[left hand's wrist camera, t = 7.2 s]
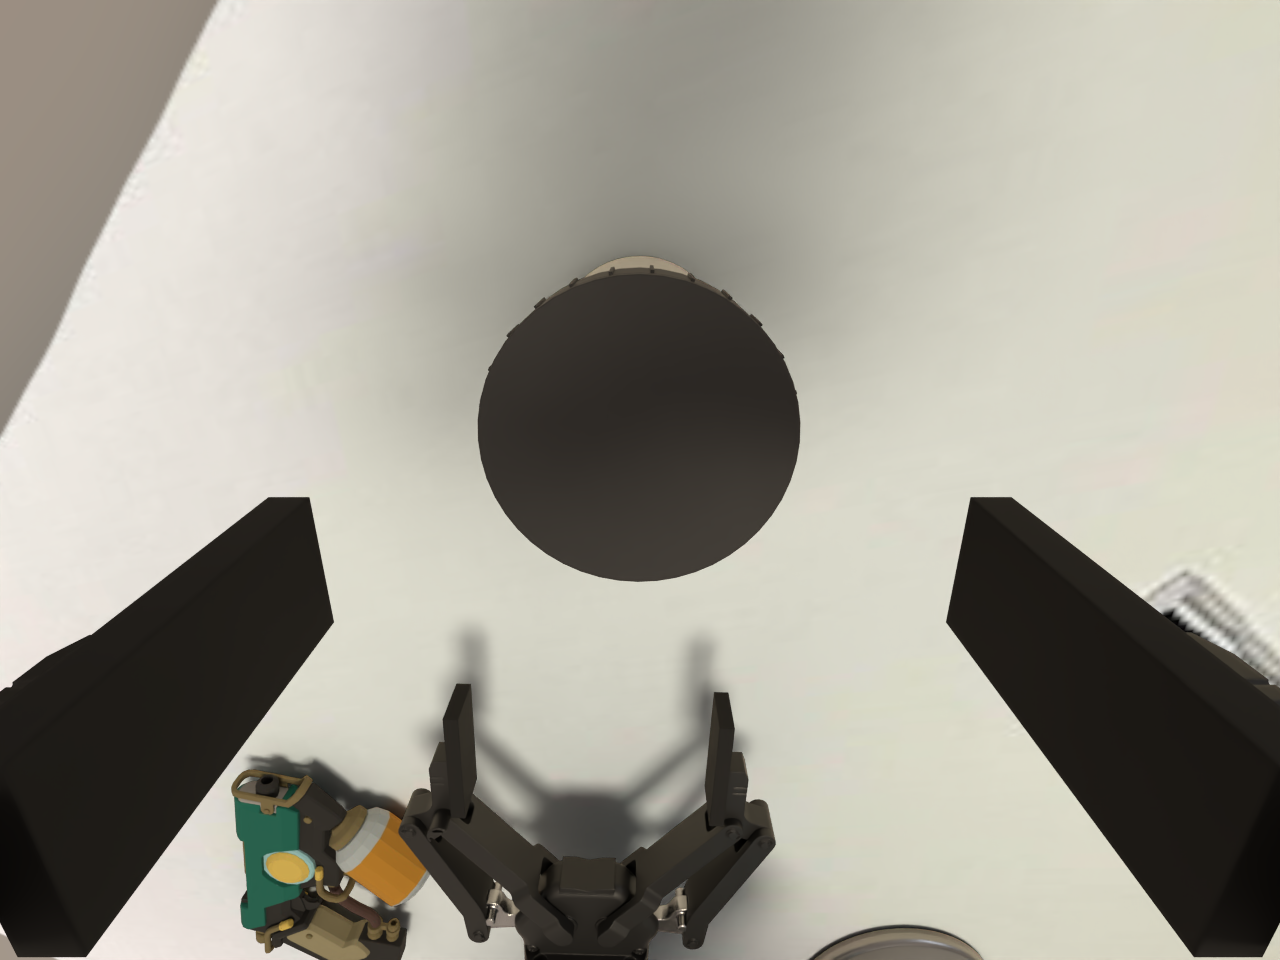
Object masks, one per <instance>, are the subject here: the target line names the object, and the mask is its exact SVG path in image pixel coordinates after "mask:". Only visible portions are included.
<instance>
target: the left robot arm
mask: <svg viewBox="0 0 1280 960" xmlns="http://www.w3.org/2000/svg"><path fill="white" fill-rule="evenodd" d="M333 623H334V620H333V615H332V610H331V605H330V600H329V595H328V590H327V585H326V579H325V574H324V569H323V564H322V559H321V554H320V549H319V544H318V539H317V534H316V529H315V524H314V518H313V513H312V508H311V503H310V498H309V497H268V498H267V499H266V500H264V501H263V502H262V503H261V504H259V505H258V506H257V507H255V508H254V509H253V510H252V511H250V512H249V513H248V514H246V515H245V516H244V517H243V518H241V519H240V520H239V521H237V522H236V523H235V524H234V525H232V526H231V527H230V528H228V529H227V530H226V531H225V532H223V533H222V534H221V535H219V536H218V537H217V538H216V539H214V540H213V541H212V542H210V543H209V544H208V545H207V546H205V547H204V548H203V549H201V550H200V551H199V552H198V553H196V554H195V555H194V556H192V557H191V558H190V559H189V560H187V561H186V562H185V563H183V564H182V565H181V566H180V567H178V568H177V569H176V570H174V571H173V572H172V573H171V574H169V575H168V576H167V577H165V578H164V579H163V580H162V581H160V582H159V583H158V584H156V585H155V586H154V587H153V588H151V589H150V590H149V591H147V592H146V593H145V594H143V595H142V596H141V597H140V598H138V599H137V600H136V601H134V602H133V603H132V604H131V605H129V606H128V607H127V608H125V609H124V610H123V611H122V612H120V613H119V614H118V615H116V616H115V617H114V618H113V619H111V620H110V621H109V622H107V623H106V624H105V625H104V626H102V627H101V628H100V629H98V630H97V631H96V632H95V633H93V634H92V635H88V636H86V637H84V638H82V639H80V640H79V641H77V642H75V643H73V644H71V645H69V646H67V647H65V648H63V649H61V650H59V651H57V652H55V653H53V654H51V655H49V656H47V657H45V658H44V659H43V660H41V661H40V662H39V663H37V664H36V665H35V666H34V667H32V668H31V669H30V670H28V671H27V672H26V673H24V674H23V675H22V676H20V677H19V678H18V679H16V680H15V681H14V682H13V685H12V687H6V688H4V689H3V690H2V691H0V923H1V925H2V927H3V929H4V931H5V933H6V935H7V937H8V939H9V941H10V943H11V945H12V947H13V949H14V951H15V953H16V955H17V957H86V956H87V955H88V954H89V952H90V951H91V950H92V948H93V947H94V946H95V944H96V943H97V942H98V940H99V939H100V938H101V936H102V935H103V933H104V932H105V931H106V929H107V928H108V927H109V925H110V924H111V923H112V921H113V920H114V919H115V917H116V916H117V915H118V913H119V912H120V911H121V909H122V908H123V906H124V905H125V904H126V902H127V901H128V900H129V898H130V897H131V896H132V894H133V893H134V892H135V890H136V889H137V888H138V886H139V885H140V884H141V882H142V881H143V879H144V878H145V877H146V875H147V874H148V873H149V871H150V870H151V869H152V867H153V866H154V865H155V863H156V862H157V861H158V859H159V858H160V856H161V855H162V854H163V852H164V851H165V850H166V848H167V847H168V846H169V844H170V843H171V842H172V840H173V839H174V838H175V836H176V835H177V834H178V832H179V831H180V829H181V828H182V827H183V825H184V824H185V823H186V821H187V820H188V819H189V817H190V816H191V815H192V813H193V812H194V811H195V809H196V808H197V806H198V805H199V804H200V802H201V801H202V800H203V798H204V797H205V796H206V794H207V793H208V792H209V790H210V789H211V788H212V786H213V785H214V784H215V782H216V781H217V779H218V778H219V777H220V775H221V774H222V773H223V771H224V770H225V769H226V767H227V766H228V765H229V763H230V762H231V761H232V759H233V758H234V757H235V755H236V754H237V752H238V751H239V750H240V748H241V747H242V746H243V744H244V743H245V742H246V740H247V739H248V738H249V736H250V735H251V734H252V732H253V731H254V729H255V728H256V727H257V725H258V724H259V723H260V721H261V720H262V719H263V717H264V716H265V715H266V713H267V712H268V711H269V709H270V708H271V707H272V705H273V704H274V702H275V701H276V700H277V698H278V697H279V696H280V694H281V693H282V692H283V690H284V689H285V688H286V686H287V685H288V684H289V682H290V681H291V679H292V678H293V677H294V675H295V674H296V673H297V671H298V670H299V669H300V667H301V666H302V665H303V663H304V662H305V661H306V659H307V658H308V657H309V655H310V654H311V652H312V651H313V650H314V648H315V647H316V646H317V644H318V643H319V642H320V640H321V639H322V638H323V636H324V635H325V634H326V632H327V631H328V630H329V628H330V627H331V625H332V624H333ZM946 623H947V624H948V625H949V627H950V628H951V630H952V631H953V632H954V634H955V635H956V636H957V638H958V639H959V640H960V642H961V643H962V644H963V646H964V647H965V648H966V650H967V651H968V652H969V654H970V655H971V657H972V658H973V659H974V661H975V662H976V663H977V665H978V666H979V667H980V669H981V670H982V671H983V673H984V674H985V675H986V677H987V678H988V680H989V681H990V682H991V684H992V685H993V686H994V688H995V689H996V690H997V692H998V693H999V694H1000V696H1001V697H1002V698H1003V700H1004V701H1005V702H1006V704H1007V705H1008V707H1009V708H1010V709H1011V711H1012V712H1013V713H1014V715H1015V716H1016V717H1017V719H1018V720H1019V721H1020V723H1021V724H1022V725H1023V727H1024V728H1025V729H1026V731H1027V732H1028V734H1029V735H1030V736H1031V738H1032V739H1033V740H1034V742H1035V743H1036V744H1037V746H1038V747H1039V748H1040V750H1041V751H1042V752H1043V754H1044V755H1045V757H1046V758H1047V759H1048V761H1049V762H1050V763H1051V765H1052V766H1053V767H1054V769H1055V770H1056V771H1057V773H1058V774H1059V775H1060V777H1061V778H1062V779H1063V781H1064V782H1065V784H1066V785H1067V786H1068V788H1069V789H1070V790H1071V792H1072V793H1073V794H1074V796H1075V797H1076V798H1077V800H1078V801H1079V802H1080V804H1081V805H1082V806H1083V808H1084V809H1085V811H1086V812H1087V813H1088V815H1089V816H1090V817H1091V819H1092V820H1093V821H1094V823H1095V824H1096V825H1097V827H1098V828H1099V829H1100V831H1101V832H1102V834H1103V835H1104V836H1105V838H1106V839H1107V840H1108V842H1109V843H1110V844H1111V846H1112V847H1113V848H1114V850H1115V851H1116V852H1117V854H1118V855H1119V856H1120V858H1121V859H1122V861H1123V862H1124V863H1125V865H1126V866H1127V867H1128V869H1129V870H1130V871H1131V873H1132V874H1133V875H1134V877H1135V878H1136V879H1137V881H1138V882H1139V884H1140V885H1141V886H1142V888H1143V889H1144V890H1145V892H1146V893H1147V894H1148V896H1149V897H1150V898H1151V900H1152V901H1153V902H1154V904H1155V905H1156V906H1157V908H1158V909H1159V911H1160V912H1161V913H1162V915H1163V916H1164V917H1165V919H1166V920H1167V921H1168V923H1169V924H1170V925H1171V927H1172V928H1173V929H1174V931H1175V932H1176V933H1177V935H1178V936H1179V938H1180V939H1181V940H1182V942H1183V943H1184V944H1185V946H1186V947H1187V948H1188V950H1189V951H1190V952H1191V954H1192V955H1193V956H1194V957H1263V955H1264V953H1265V951H1266V949H1267V947H1268V945H1269V943H1270V941H1271V939H1272V937H1273V935H1274V933H1275V931H1276V929H1277V927H1278V925H1279V923H1280V688H1279V687H1278V686H1276V685H1270V684H1269V682H1268V679H1267V678H1266V677H1264V676H1263V675H1262V674H1260V673H1259V672H1258V671H1256V670H1255V669H1254V668H1252V667H1251V666H1250V665H1248V664H1247V663H1246V662H1244V661H1243V660H1242V659H1240V658H1239V657H1238V656H1236V655H1235V654H1233V653H1231V652H1229V651H1227V650H1225V649H1223V648H1221V647H1219V646H1217V645H1215V644H1213V643H1211V642H1209V641H1207V640H1205V639H1203V638H1201V637H1199V636H1197V635H1195V634H1193V633H1185V632H1184V631H1183V630H1182V629H1180V628H1179V627H1178V626H1176V625H1175V624H1174V623H1173V622H1171V621H1170V620H1169V619H1167V618H1166V617H1165V616H1164V615H1162V614H1161V613H1160V612H1158V611H1157V610H1156V609H1155V608H1153V607H1152V606H1151V605H1149V604H1148V603H1147V602H1146V601H1144V600H1143V599H1142V598H1140V597H1139V596H1138V595H1136V594H1135V593H1134V592H1133V591H1131V590H1130V589H1129V588H1127V587H1126V586H1125V585H1124V584H1122V583H1121V582H1120V581H1118V580H1117V579H1116V578H1115V577H1113V576H1112V575H1111V574H1109V573H1108V572H1107V571H1106V570H1104V569H1103V568H1102V567H1100V566H1099V565H1098V564H1097V563H1095V562H1094V561H1093V560H1091V559H1090V558H1089V557H1088V556H1086V555H1085V554H1084V553H1082V552H1081V551H1080V550H1079V549H1077V548H1076V547H1075V546H1073V545H1072V544H1071V543H1070V542H1068V541H1067V540H1066V539H1064V538H1063V537H1062V536H1061V535H1059V534H1058V533H1057V532H1055V531H1054V530H1053V529H1052V528H1050V527H1049V526H1048V525H1046V524H1045V523H1044V522H1043V521H1041V520H1040V519H1039V518H1037V517H1036V516H1035V515H1034V514H1032V513H1031V512H1030V511H1028V510H1027V509H1026V508H1025V507H1023V506H1022V505H1021V504H1019V503H1018V502H1017V501H1016V500H1014V499H1013V498H1012V497H971V498H970V503H969V508H968V513H967V518H966V523H965V529H964V534H963V539H962V544H961V549H960V554H959V559H958V564H957V569H956V574H955V579H954V584H953V590H952V595H951V600H950V605H949V610H948V615H947V620H946Z"/></svg>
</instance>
